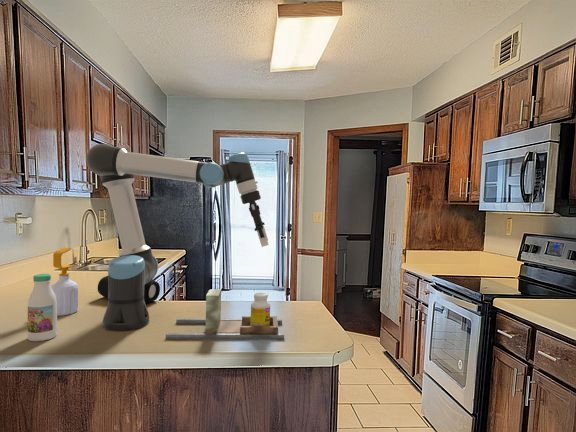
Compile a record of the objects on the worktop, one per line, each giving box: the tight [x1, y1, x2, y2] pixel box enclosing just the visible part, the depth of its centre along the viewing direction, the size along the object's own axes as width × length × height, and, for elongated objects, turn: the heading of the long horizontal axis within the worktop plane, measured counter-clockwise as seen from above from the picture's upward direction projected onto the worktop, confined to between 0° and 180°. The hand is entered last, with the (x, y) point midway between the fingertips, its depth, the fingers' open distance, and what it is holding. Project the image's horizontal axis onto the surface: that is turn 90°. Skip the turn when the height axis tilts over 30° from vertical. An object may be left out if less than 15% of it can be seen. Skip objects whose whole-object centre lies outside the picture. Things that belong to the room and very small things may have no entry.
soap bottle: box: [51, 247, 79, 317], centre depth 140 cm, size 9×9×25 cm
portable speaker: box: [97, 275, 161, 304], centre depth 159 cm, size 26×10×10 cm, turn 74°
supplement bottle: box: [249, 292, 271, 326], centre depth 127 cm, size 7×7×13 cm
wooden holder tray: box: [202, 288, 279, 334], centre depth 126 cm, size 24×11×13 cm, turn 94°
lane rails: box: [165, 318, 285, 340], centre depth 126 cm, size 38×15×2 cm, turn 94°
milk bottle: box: [27, 273, 58, 342], centre depth 116 cm, size 8×8×20 cm
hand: (265, 243), depth 146 cm, fingers open, 13 cm apart
